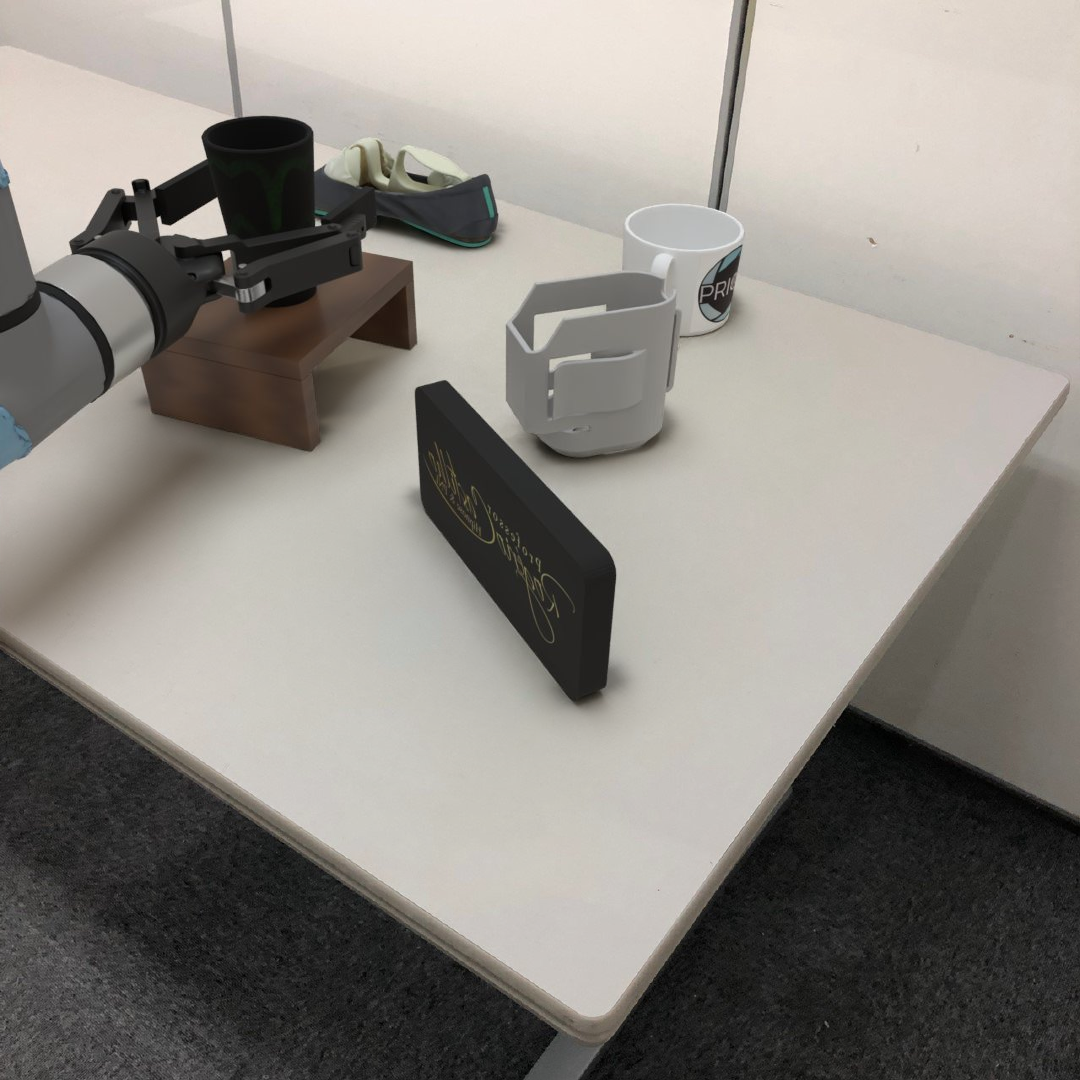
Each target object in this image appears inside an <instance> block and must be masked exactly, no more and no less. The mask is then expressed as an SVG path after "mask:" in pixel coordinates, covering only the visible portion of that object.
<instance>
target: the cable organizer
mask: <svg viewBox="0 0 1080 1080" xmlns="http://www.w3.org/2000/svg"><path fill="white" fill-rule="evenodd" d="M664 282H665V278H664V277H662V276H660V275H657V274H654V273H650V272H644V271H633V270H627V271H622V270H618V271H617V270H616V271H610V272H603V273H596V274H595V273H594V274H588V275H580V276H574V277H573V276H572V277H566V278H559V279H550V280H545V281H536V282H535V283H534V284H533V285H532V287H531V289H530V290H529V292H528V294H527V295H526V296H525V298H524V300H523V302H522V303H521V304H520V307H519V308H518V310H517V311H516V312H515V313H514V314H513V315H512V316H511V317H510V318H509V319H508V321H507V322H506V323H505V401H506V403H507V405H508V406H509V408H510V410H511V412H512V413H513V415H514V416H515V418H516V419H517V421H518V423H519V425H520V426H521V428H522V429H523V431H524V432H526V433H529V434H533V435H534V434H535V435H537V437H538V438H539V440H541V441H542V442H543V443H544V444H546V445H547V446H548V447H549V448H551V449H552V450H553V451H555V452H556V453H558V454H560V455H562V456H565V457H569V458H576V459H577V458H579V459H581V458H582V459H583V458H589V457H595V456H598V455H603V454H608V453H612V452H618V451H622V450H623V451H624V450H629V449H633V448H638V447H640V446H642V445H644V444H645V443H647V442H648V441H649V440H651V439H652V438H653V437H655V436H656V435H657V434H658V433H660V431H661V430H662V427H663V422H664V421H663V420H664V412H665V403H666V395H667V393H670V391H672V389H673V388H674V384H675V378H676V377H675V376H676V367H677V359H678V352H679V351H678V350H679V342H680V336H679V335H680V326H681V318H682V311H681V309H680V308H679V307H678V306H677V305H676V297H677V290H676V289H673V290H672V295H671V297H670V298H668V297H667V296H666V294H665V292H664ZM600 306H605V311H601V312H600V311H599V312H594V313H593V312H592V313H588V314H581V315H573V316H566V317H563V318H562V319H561V321H560V322H559V323H558V326H556V328H555V330H554V332H553V333H552V334H551V335H550V337H549V339H548V340H547V342H546V343H545V345H544V346H542V347H541V348H539V349H537V350H535V349H534V348H535V346H534V345H535V316H536V315H545V314H552V313H557V312H564V311H571V310H578V309H587V308H592V307H593V308H594V307H600ZM587 354H590V358H587V359H586V358H585V359H572V360H570V359H569V360H564V361H561V362H559V363H558V364H557V365H555V366H554V369H550V365H551V364H550V361H551V360H556V359H562V358H568V357H575V356H580V355H587ZM550 391H553V393H552V394H551V395H549V392H550ZM585 427H586V428H587V427H588V430H575V429H581V428H585Z"/></svg>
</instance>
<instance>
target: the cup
mask: <svg viewBox="0 0 1080 1080" xmlns="http://www.w3.org/2000/svg"><path fill="white" fill-rule="evenodd" d="M314 136H315V135H314V130H313V128H312V126H310V125H309V124H307V123H306V122H305V121H302V120H299V119H296V118H291V117H287V116H280V115H279V116H278V115H250V116H241V117H240V116H239V117H235V118H230V119H225V120H223V121H220V122H216V123H214V124H212V125H210V126H209V127H207V128H206V129H205V130H204V131H203V132H202V134H201V135H200V137H201V141H202V146H203V149H204V153H205V157H206V159H207V161H208V165H209V168H210V172H211V176H212V179H213V183H214V187H215V191H216V194H217V198H216V199H217V202H218V206H219V208H220V214H221V216H222V220H223V224H224V227H225V231H226V235H231V234H234V235H237V236H238V237H239V238H240V239H241V240H245V239H250V238H255V237H261V236H266V235H272V234H277V233H282V232H288V231H293V230H299V229H304V228H310V227H315V226H316V213H315V180H314V172H315V137H314ZM316 289H317V286H315V287H312V288H309V289H306V290H303V291H300V292H297V293H294V294H291V295H288V296H285V297H282V298H280V299H277V300H274V301H272V302H270V303H268V304H267V305H265V306H264V307H273V308H278V307H288V306H293V305H297V304H300V303H303V302H305V301H307V300H309V299H310V298H312V297H313V296H314V294H315V293H316Z"/></svg>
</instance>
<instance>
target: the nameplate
mask: <svg viewBox="0 0 1080 1080" xmlns="http://www.w3.org/2000/svg"><path fill="white" fill-rule="evenodd" d="M414 409H415V424H416V425H415V426H416V437H417V438H416V443H417V444H416V445H417V461H418V476H419V477H418V478H419V493H420V500H421V504H422V507H423V510H424V511H425V513H426V515H427V516H428V518H429V519H430V520H431V522H432V523H433V524H434V526H435V527H436V528H437V529H438V531H439V532H440V533H441V534H442V536H443V537H444V539H445V540H446V541H447V542H448V544H449V545H450V546H451V547H452V549H453V550H454V551H455V553H456V555H458V557H459V558H460V559H461V560H462V562H463V563H464V564H465V566H466V567H467V568H468V569H469V570H470V572H471V573H472V574H473V576H474V577H475V578H476V580H477V581H478V582H479V584H480V585H481V586H482V587H483V589H484V590H485V591H486V593H487V594H488V595H489V596H490V598H491V599H492V601H494V603H495V604H496V605H497V607H498V608H499V609H500V610H501V611H502V613H503V614H504V616H505V617H506V618H507V620H508V621H509V622H510V624H511V625H512V626H513V627H514V629H515V630H516V631H517V633H518V634H519V636H520V637H521V638H522V639H523V641H525V643H526V644H527V645H528V647H529V648H530V649H531V650H532V651H533V653H534V654H535V656H536V657H537V658H538V660H539V661H540V662H541V664H543V666H544V667H545V668H546V670H547V671H548V672H549V674H550V675H551V676H552V677H553V679H554V680H555V681H556V683H557V684H558V685H559V686H560V688H561V690H562V691H563V692H564V693H565V695H566V696H567V697H568V698H569V699H570V700H573V701H576V700H578V699H581V698H583V697H585V696H587V695H590V694H593V693H595V692H598V691H600V690H603V689H604V688H606V686H607V683H608V674H609V661H610V653H611V652H610V651H611V642H612V641H611V640H612V627H613V619H614V608H615V607H614V605H615V597H616V585H617V568H616V564H615V561H614V558H613V556H612V555H611V553H610V550H608V549H607V548H606V546H605V545H604V544H603V543H602V542H601V541H600V540H599V539H598V538H597V537H596V536H595V535H594V534H593V532H591V531H590V530H589V528H587V527H586V525H584V523H583V522H582V521H581V520H580V519H579V518H578V517H577V516H576V515H575V514H574V512H572V510H570V509H569V508H568V507H567V506H566V504H565V503H564V502H563V501H562V500H561V499H560V498H559V497H558V496H557V494H555V492H553V490H552V489H551V488H550V487H549V486H547V484H546V483H545V482H544V481H543V480H542V479H541V478H540V477H539V476H538V475H537V473H535V471H534V470H533V469H532V468H531V467H530V466H528V464H527V463H526V462H525V461H524V459H522V458H521V457H520V456H519V454H517V453H516V452H515V450H513V448H512V447H511V446H510V445H509V444H508V443H507V442H506V441H505V439H503V437H501V436H500V435H499V434H498V433H497V432H496V430H494V428H493V427H492V426H491V425H490V424H489V423H488V422H487V421H486V420H485V419H484V417H482V415H480V413H478V412H477V410H476V409H475V408H474V407H473V406H472V405H471V404H470V403H469V402H468V401H467V400H466V398H464V396H463V395H462V394H460V392H459V391H458V390H457V389H456V388H455V387H454V386H453V385H452V384H451V383H450V382H449V381H448V380H447V379H442V380H439V381H435V382H431V383H427V384H423V385H419V386H416V387H415V389H414Z"/></svg>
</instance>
